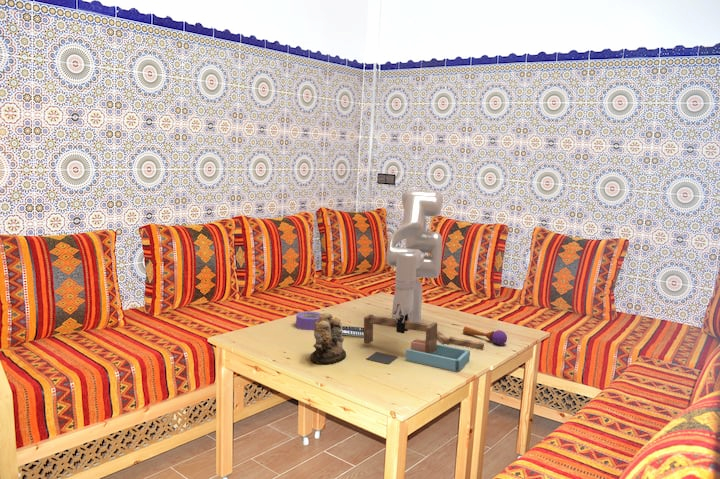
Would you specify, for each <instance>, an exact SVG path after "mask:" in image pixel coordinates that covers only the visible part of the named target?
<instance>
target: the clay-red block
mask: <svg viewBox="0 0 720 479" xmlns="http://www.w3.org/2000/svg"><path fill="white" fill-rule="evenodd" d="M425 345H426V338H418V337H417V338H414V340H412V341H410V350H415V351H420V352H424V353H425Z"/></svg>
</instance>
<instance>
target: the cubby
mask: <svg viewBox="0 0 720 479" xmlns="http://www.w3.org/2000/svg"><path fill="white" fill-rule="evenodd" d="M470 354H471V351H470V350H469V349H464V348H459V347H453V346H449V345H443V344H439V343H437V350H436V351H435V352H433V353H432V354H429V353H424V352H420V351H415V350H411V348H406V350H405V361H408V362H410V363H411V362H412V363H416V364H421V365H425V366H430V367H435V368H439V369H443V370H447V371H452V372H458V373H459V372H460V371H461V370H462V369H463V367H465V366H466V365H467V364H468V363H469V362H470V356H471V355H470Z"/></svg>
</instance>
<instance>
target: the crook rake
mask: <svg viewBox="0 0 720 479" xmlns="http://www.w3.org/2000/svg"><path fill="white" fill-rule="evenodd" d="M404 323H405V329H408V330H411V331H416V332H417V331H418V332H424V333H425V339H426V345H425V353H429V354H432V353H433V352H435V351H436V350H437V344H438V340H437V330H438V323H437V322H432V323H426V322H423V323H420V322H412V321H404ZM374 325H376V326H382V327H389V328H391V327H392V328H395V329H397V319H395V318H392V317H385V316H384V317H383V316H378V315H376V316H375V315H374V314H368V315H366V316H364V317H363V344H364V345H368V344H370V343H371V342H373V341H374Z"/></svg>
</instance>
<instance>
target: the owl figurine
mask: <svg viewBox="0 0 720 479" xmlns="http://www.w3.org/2000/svg"><path fill="white" fill-rule="evenodd" d="M343 329H344V328H343V324H342V322H341V319H340V318H338V317H337V318H336V317H334V318H333V315H332V313H331V312H324V313H321V315H320V316H319V318H318V320H317V321H316V323H315V328H314V330H313V331H314V332H313V336H314V339H315V343H314V344H313V345H312V346H313V348H314V349H315V350H314V351H313V352H311V354H310V356H309V360H310V362H312V363H316V364H319V365H325V366H328V365H329V366H330V365H334V364H337V363H340V362H342V361H343V360H344V359H345V358H346V356H347V352H346V350H345V349H344V348H343V342H344V337H343Z"/></svg>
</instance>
